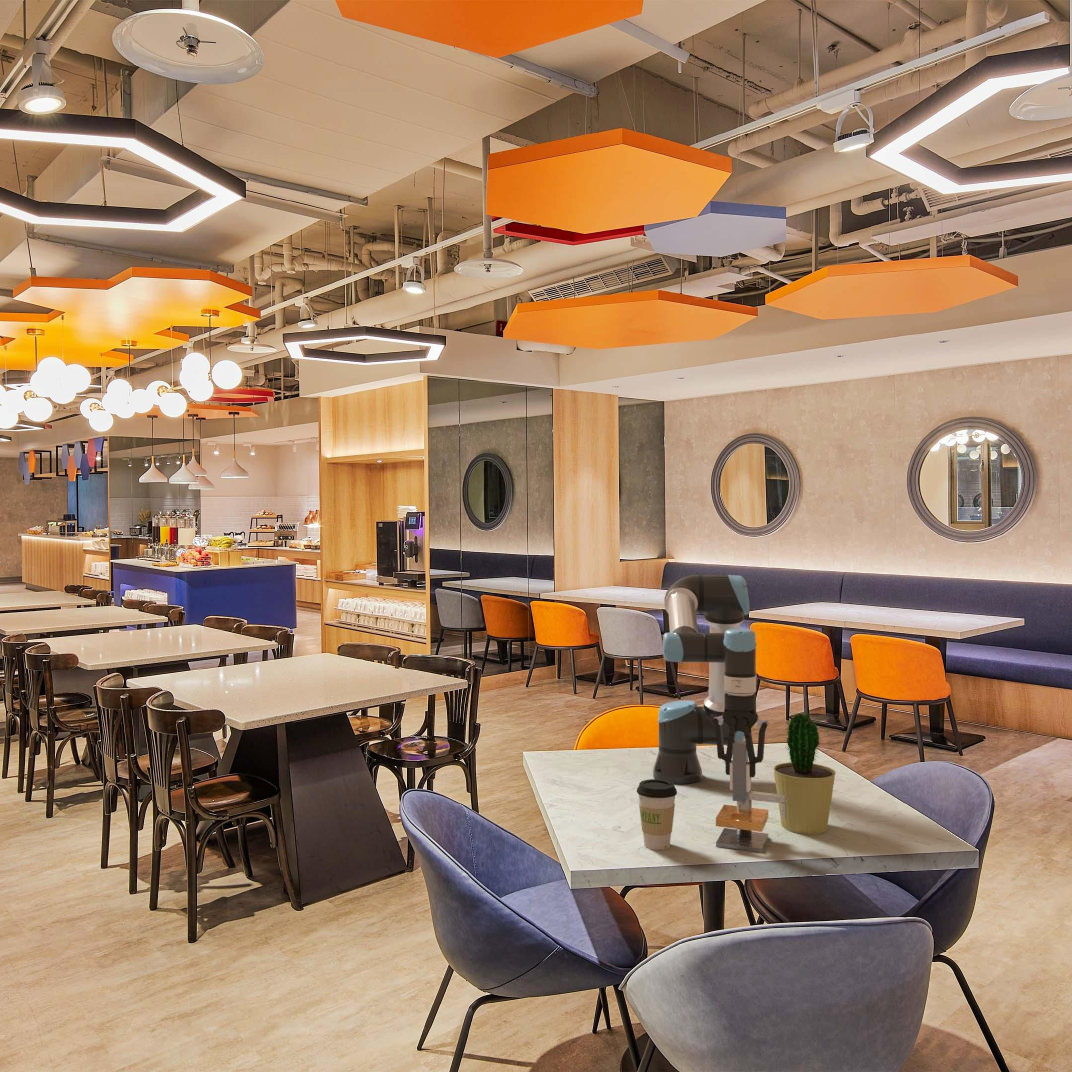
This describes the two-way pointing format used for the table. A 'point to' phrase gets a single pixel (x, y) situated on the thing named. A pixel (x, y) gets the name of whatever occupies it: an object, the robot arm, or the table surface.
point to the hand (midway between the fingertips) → (740, 789)
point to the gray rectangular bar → (739, 771)
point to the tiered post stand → (746, 822)
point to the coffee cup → (656, 812)
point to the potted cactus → (804, 780)
